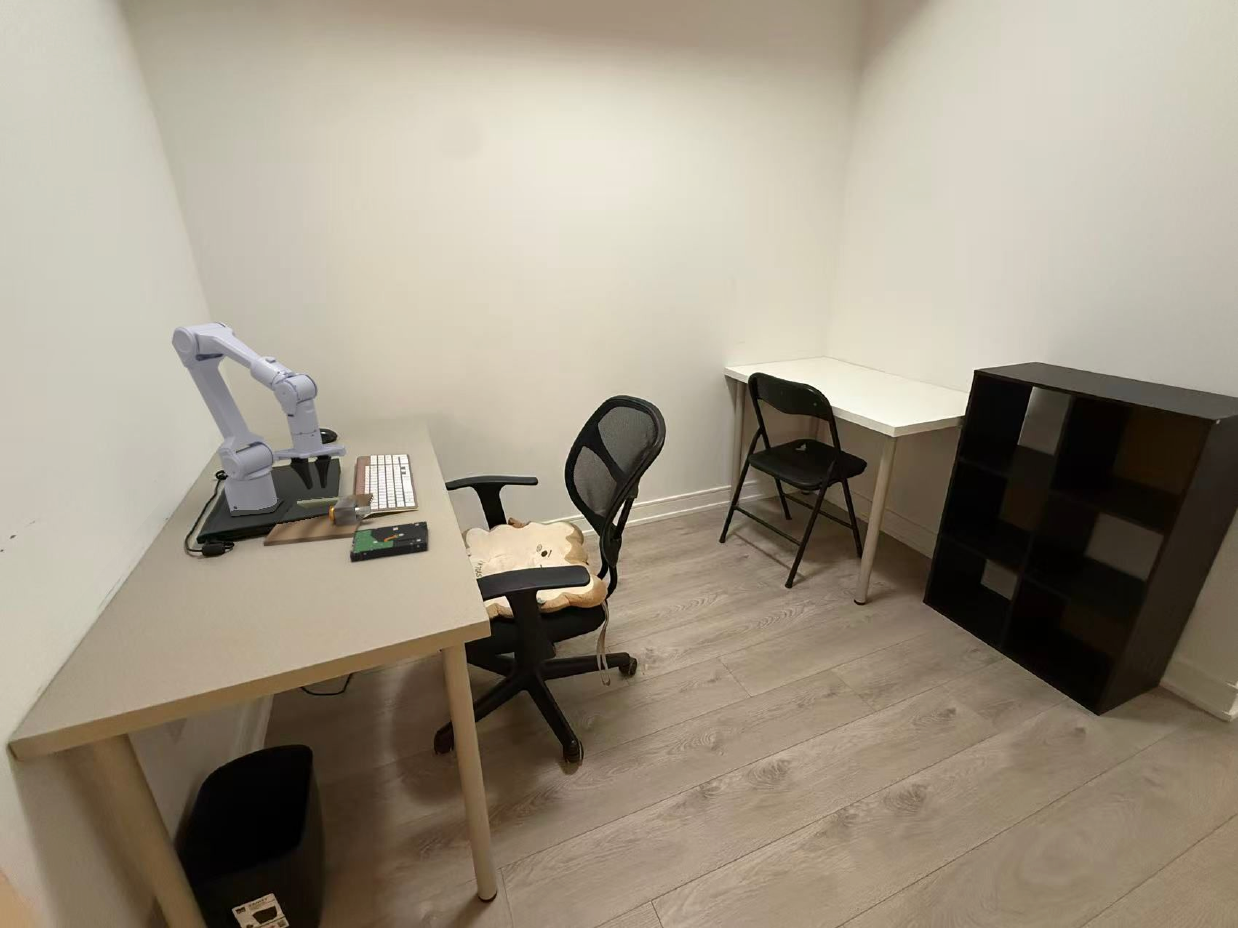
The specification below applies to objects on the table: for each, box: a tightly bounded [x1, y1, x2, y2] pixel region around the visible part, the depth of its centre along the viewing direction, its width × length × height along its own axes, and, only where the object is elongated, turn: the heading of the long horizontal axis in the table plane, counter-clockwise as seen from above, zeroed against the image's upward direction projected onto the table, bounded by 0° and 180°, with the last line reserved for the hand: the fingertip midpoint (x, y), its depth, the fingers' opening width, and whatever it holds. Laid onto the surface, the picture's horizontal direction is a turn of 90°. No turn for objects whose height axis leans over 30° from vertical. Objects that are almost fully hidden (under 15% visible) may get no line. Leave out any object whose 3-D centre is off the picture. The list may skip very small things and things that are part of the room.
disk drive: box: [349, 520, 429, 563], centre depth 120 cm, size 10×3×15 cm
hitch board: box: [262, 492, 374, 547], centre depth 131 cm, size 18×22×5 cm
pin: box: [329, 505, 372, 521], centre depth 128 cm, size 8×3×3 cm, turn 102°
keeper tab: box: [297, 497, 342, 509], centre depth 133 cm, size 9×6×1 cm
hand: (317, 487), depth 130 cm, fingers open, 2 cm apart
